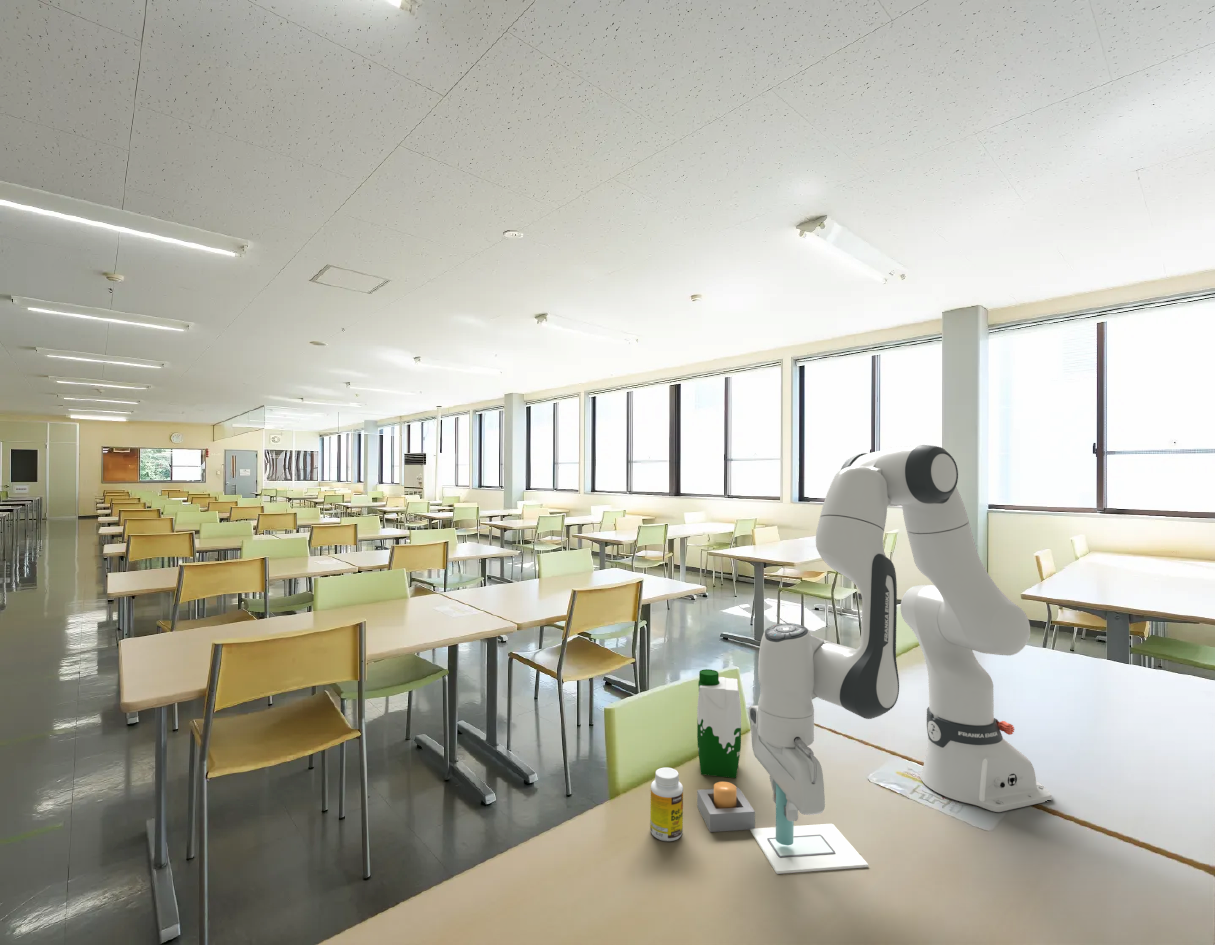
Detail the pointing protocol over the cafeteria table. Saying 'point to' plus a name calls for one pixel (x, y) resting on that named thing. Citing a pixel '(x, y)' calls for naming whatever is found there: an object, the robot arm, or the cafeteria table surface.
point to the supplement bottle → (666, 805)
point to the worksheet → (809, 849)
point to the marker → (783, 820)
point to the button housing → (725, 813)
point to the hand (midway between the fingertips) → (785, 811)
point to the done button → (724, 795)
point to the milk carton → (718, 724)
